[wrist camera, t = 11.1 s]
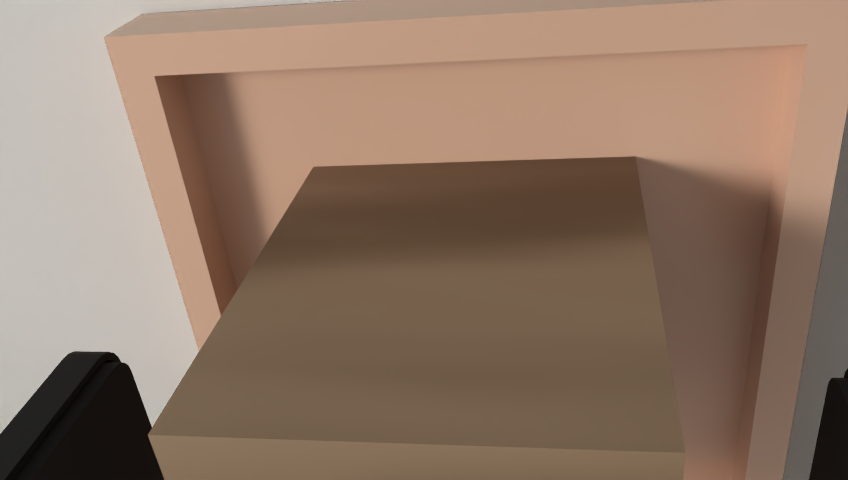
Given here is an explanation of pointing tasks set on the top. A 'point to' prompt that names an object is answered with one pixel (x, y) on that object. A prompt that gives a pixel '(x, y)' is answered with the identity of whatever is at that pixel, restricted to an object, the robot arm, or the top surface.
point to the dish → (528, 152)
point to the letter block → (439, 334)
